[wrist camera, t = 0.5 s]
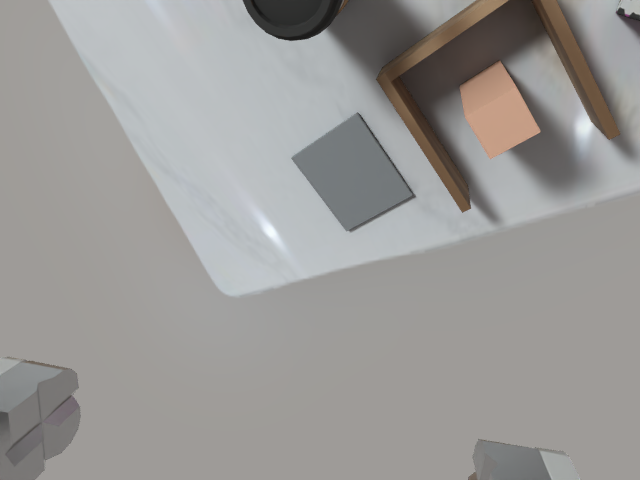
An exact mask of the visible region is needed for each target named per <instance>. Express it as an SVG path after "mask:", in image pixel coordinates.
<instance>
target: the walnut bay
mask: <svg viewBox="0 0 640 480" xmlns="http://www.w3.org/2000/svg"><path fill="white" fill-rule="evenodd" d="M507 1H509V0H476V1H475V2H474V3H472V4H471V5H469V6H468V7H466V8H465V9H464V10H462V11H461V12H459V13H458V14H457V15H455V16H454V17H452V18H451V19H450V20H448V21H447V22H445V23H444V24H443V25H441V26H440V27H438V28H437V29H436V30H434V31H433V32H431V33H430V34H429V35H427V36H426V37H424V38H423V39H422V40H420V41H419V42H417V43H416V44H415V45H413V46H412V47H410V48H409V49H408V50H406V51H405V52H403V53H402V54H401V55H399V56H398V57H396V58H395V59H394V60H392V61H391V62H389V63H388V64H387V65H385V66H384V67H382V69H381V71H380V73H379V75H378V77H377V79H376V80H377V81H378V83H379V84H380V86H381V87H382V89H383V91H384V92H385V94H386V95H387V97H388V98H389V100H390V101H391V103H392V104H393V106H394V108H395V109H396V111H397V112H398V114H399V115H400V117H401V118H402V120H403V121H404V123H405V125H406V126H407V128H408V129H409V131H410V132H411V134H412V135H413V137H414V138H415V140H416V142H417V143H418V145H419V146H420V148H421V149H422V151H423V152H424V154H425V155H426V157H427V159H428V160H429V162H430V163H431V165H432V166H433V168H434V169H435V171H436V173H437V174H438V176H439V177H440V179H441V180H442V182H443V183H444V185H445V186H446V188H447V190H448V191H449V193H450V194H451V196H452V197H453V199H454V200H455V202H456V203H457V205H458V207H459V208H460V210H461V211H462V213H463V212H465V211H467V210H469V209H471V205H470V198H469V190H468V185H467V184H466V182H465V180H464V179H463V177H462V176H461V174H460V172H459V171H458V169H457V168H456V166H455V165H454V163H453V161H452V160H451V158H450V157H449V155H448V153H447V152H446V150H445V149H444V147H443V145H442V144H441V142H440V141H439V139H438V137H437V136H436V134H435V133H434V131H433V129H432V128H431V126H430V125H429V123H428V121H427V120H426V118H425V117H424V115H423V114H422V112H421V110H420V109H419V107H418V106H417V104H416V102H415V101H414V99H413V98H412V96H411V94H410V93H409V91H408V90H407V88H406V86H405V85H404V83H403V82H402V80H401V78H400V77H399V76H400V75H401V74H403V73H404V72H406V71H407V70H408V69H410V68H411V67H413V66H414V65H416V64H417V63H419V62H420V61H422V60H423V59H424V58H426V57H427V56H429V55H430V54H432V53H433V52H435V51H436V50H437V49H439V48H440V47H442V46H443V45H445V44H446V43H448V42H449V41H451V40H452V39H453V38H455V37H456V36H458V35H459V34H461V33H462V32H464V31H465V30H466V29H468V28H469V27H471V26H472V25H474V24H475V23H477V22H478V21H480V20H481V19H482V18H484V17H485V16H487V15H488V14H490V13H491V12H493V11H494V10H495V9H497V8H498V7H500V6H501V5H503V4H504V3H506V2H507ZM531 1H532V3H533V5H534V7H535V9H536V11H537V13H538V15H539V17H540V19H541V21H542V23H543V25H544V27H545V29H546V31H547V33H548V35H549V37H550V39H551V41H552V44H553V46H554V48H555V50H556V52H557V54H558V56H559V58H560V60H561V62H562V64H563V66H564V68H565V70H566V72H567V74H568V76H569V78H570V80H571V82H572V84H573V86H574V88H575V90H576V92H577V94H578V96H579V98H580V100H581V102H582V104H583V106H584V108H585V110H586V112H587V114H588V116H589V118H590V120H591V122H592V123H593V124H594V125H595V126H596V127H597V128H598V129H599V130H600V131H601V132H602V133H603V134H604V135H605V136H606V137H607V138H608V139H609V140H610V139H612V138H614V137H616V136H618V135H620V132H619V130H618V128H617V126H616V124H615V121H614V119H613V117H612V115H611V113H610V111H609V109H608V107H607V105H606V103H605V101H604V99H603V96H602V94H601V92H600V90H599V88H598V86H597V84H596V82H595V80H594V78H593V76H592V74H591V71H590V69H589V67H588V65H587V63H586V61H585V59H584V57H583V55H582V53H581V51H580V49H579V46H578V44H577V42H576V40H575V38H574V36H573V34H572V32H571V30H570V28H569V26H568V24H567V21H566V19H565V17H564V15H563V13H562V11H561V9H560V7H559V5H558V3H557V1H556V0H531Z"/></svg>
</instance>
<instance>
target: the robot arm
mask: <svg viewBox="0 0 640 480" xmlns="http://www.w3.org/2000/svg"><path fill="white" fill-rule="evenodd" d="M77 389H78V379H77V373H76V372H75V371H73V370H72V369H70V368H65V367H59V366H55V365H50V364H45V363H39V362H35V361H27V360H24V359H18V358H12V357H2V358H0V480H35V479H36V478H37V477H38V476H39V475H40V474H41V473H42V472H43V471H44V470H45V461H46V460H47V459H49V458H52V457H54V456H56V455H58V454H60V453H62V451H63V450H65V448H66V447H67V446H68V445H69V444H70V443H71V441H72V440H73V437H74V436H75V434H76V432H77V430H78V426H79V422H80V406H79V404H78V403H77V401H76V400H75V398H74V397H73V396H72V395H73V394H74V393H75V392H76V390H77ZM473 460H474V465H475V470H476V472H474V473H473V474H472V475H471V476H469V477H468V480H581V479H580V477H579V475H578V473H577V471H576V469H575V467H574V465H573V463H572V462H571V460H570V458H569V456H568V455H567V454H566V453H565V452H563V451H556V450H549V449H542V448H529V447H523V446H517V445H511V444H505V443H499V442H492V441H486V440H480V439H478V441H477V443H476V445H475V449H474V454H473Z"/></svg>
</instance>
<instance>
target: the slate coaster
mask: <svg viewBox="0 0 640 480" xmlns="http://www.w3.org/2000/svg"><path fill="white" fill-rule="evenodd" d="M291 159H292V160H293V161H294V163H295V164H296V165H297V166H298V168H299V169H300V170H301V172H302V173H303V174H304V176H305V177H306V178H307V180H308V181H309V182H310V184H311V185H312V186H313V188H314V189H315V190H316V192H317V193H318V194H319V196H320V197H321V198H322V200H323V201H324V202H325V203H326V205H327V206H328V207H329V209H330V210H331V211H332V213H333V214H334V215H335V217H336V218H337V219H338V221H339V222H340V223H341V225H342V226H343V227H344V229H345V230H346V231H348V230H350V229H352V228H354V227H355V226H357V225H359V224H361V223H363V222H365V221H366V220H368V219H370V218H372V217H374V216H376V215H378V214H379V213H381V212H383V211H385V210H387V209H389V208H390V207H392V206H394V205H396V204H398V203H400V202H401V201H403V200H405V199H407V198H409V197H411V196H412V195H413V193H412V192H411V190H410V189H409V187H408V186H407V184H406V183H405V181H404V180H403V178H402V177H401V175H400V174H399V172H398V171H397V169H396V168H395V166H394V165H393V163H392V162H391V161H390V159H389V158H388V156H387V155H386V153H385V152H384V150H383V149H382V147H381V146H380V144H379V143H378V141H377V140H376V138H375V137H374V135H373V134H372V132H371V131H370V130H369V128H368V127H367V125H366V124H365V122H364V121H363V119H362V118H361V116H360V115H359V113H358V112H357V113H356V114H354V115H353V116H351V117H350V118H349V119H347V120H346V121H344V122H343V123H341V124H340V125H338V126H337V127H335V128H334V129H332V130H331V131H329V132H328V133H326V134H325V135H324V136H322V137H321V138H319V139H318V140H316V141H315V142H313V143H312V144H310V145H309V146H307V147H306V148H304V149H303V150H302V151H300V152H299V153H297V154H296V155H294V156H293V157H292V158H291Z"/></svg>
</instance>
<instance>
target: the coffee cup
mask: <svg viewBox="0 0 640 480" xmlns="http://www.w3.org/2000/svg"><path fill="white" fill-rule="evenodd" d="M348 1H349V0H243V2H244V4H245V7H246V9H247V11H248V13H249V14H250V16H251V17H252V19H253V20H254V21H255V23H256V24H257V25H258V26H259V27H260V28H262V29H263V30H264V31H265V32H266V33H268V34H270V35H272V36H274V37H276V38H278V39H284V40H289V41H293V40H303V39H308V38H311V37H313V36H315V35H318V34H319V33H321V32H322V31H323V30H324V29H326V28H327V27H328V26H329V25H330V24H331V22H332V21H333V19H334V18H335V17H336V16H337V15H338V13H339V12H340V11H341V10H342V9H343V8H344V6H345V5H346V4H347V2H348Z"/></svg>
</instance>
